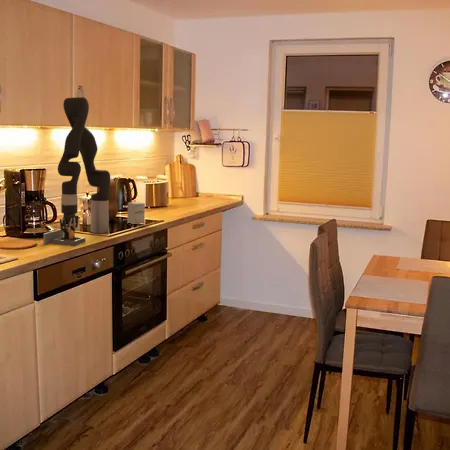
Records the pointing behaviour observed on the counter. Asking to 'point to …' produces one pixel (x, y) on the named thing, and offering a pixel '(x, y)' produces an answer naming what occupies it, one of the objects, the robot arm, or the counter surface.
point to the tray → (68, 241)
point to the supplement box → (136, 212)
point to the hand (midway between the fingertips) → (69, 238)
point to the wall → (52, 236)
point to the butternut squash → (112, 200)
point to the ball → (71, 234)
